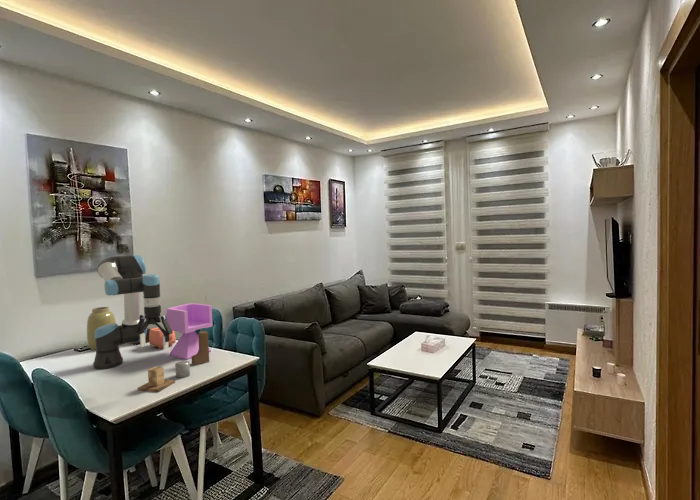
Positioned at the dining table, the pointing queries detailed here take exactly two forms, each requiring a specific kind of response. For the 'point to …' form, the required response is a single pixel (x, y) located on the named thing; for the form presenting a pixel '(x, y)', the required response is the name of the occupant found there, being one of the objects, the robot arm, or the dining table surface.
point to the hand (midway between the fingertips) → (154, 347)
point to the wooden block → (202, 349)
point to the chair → (188, 327)
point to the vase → (98, 323)
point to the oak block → (156, 376)
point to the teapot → (160, 338)
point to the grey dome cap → (182, 369)
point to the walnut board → (156, 388)
